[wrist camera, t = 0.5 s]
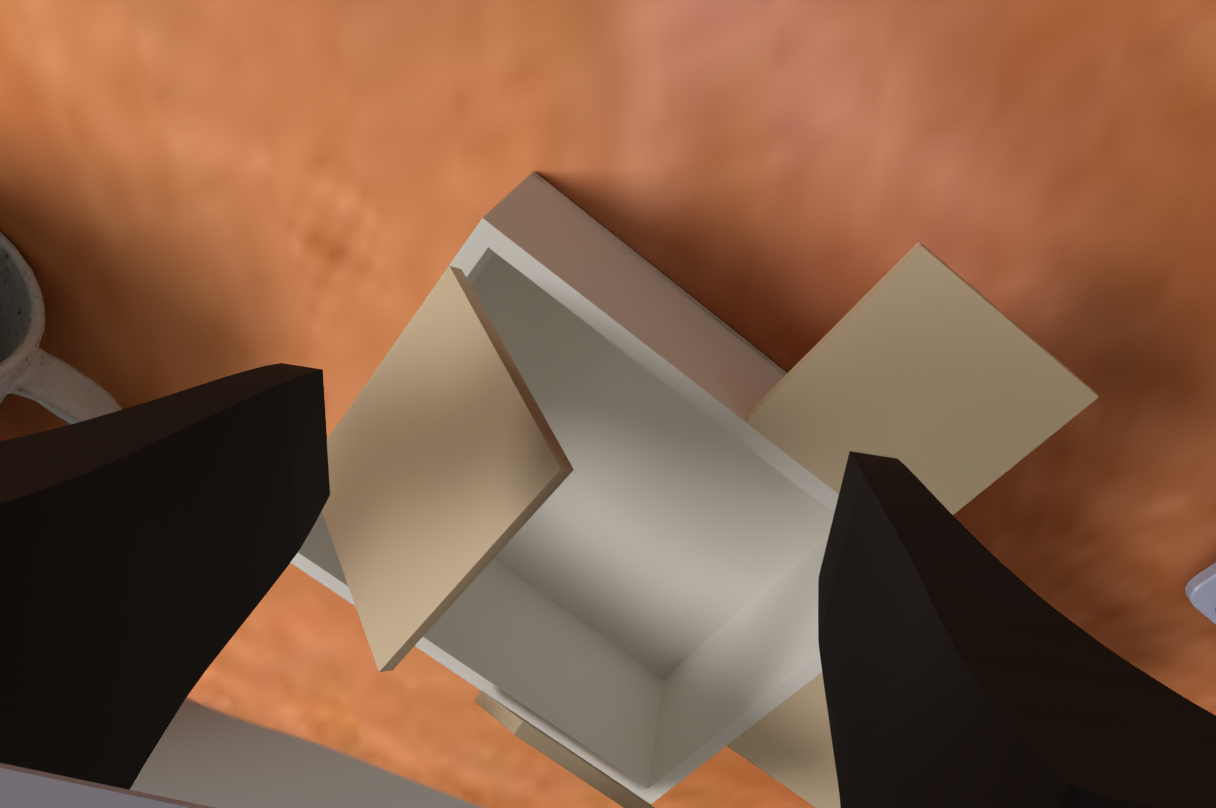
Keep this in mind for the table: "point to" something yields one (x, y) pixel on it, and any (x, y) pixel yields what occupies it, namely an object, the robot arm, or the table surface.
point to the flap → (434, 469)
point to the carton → (706, 492)
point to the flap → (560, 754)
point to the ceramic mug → (39, 350)
